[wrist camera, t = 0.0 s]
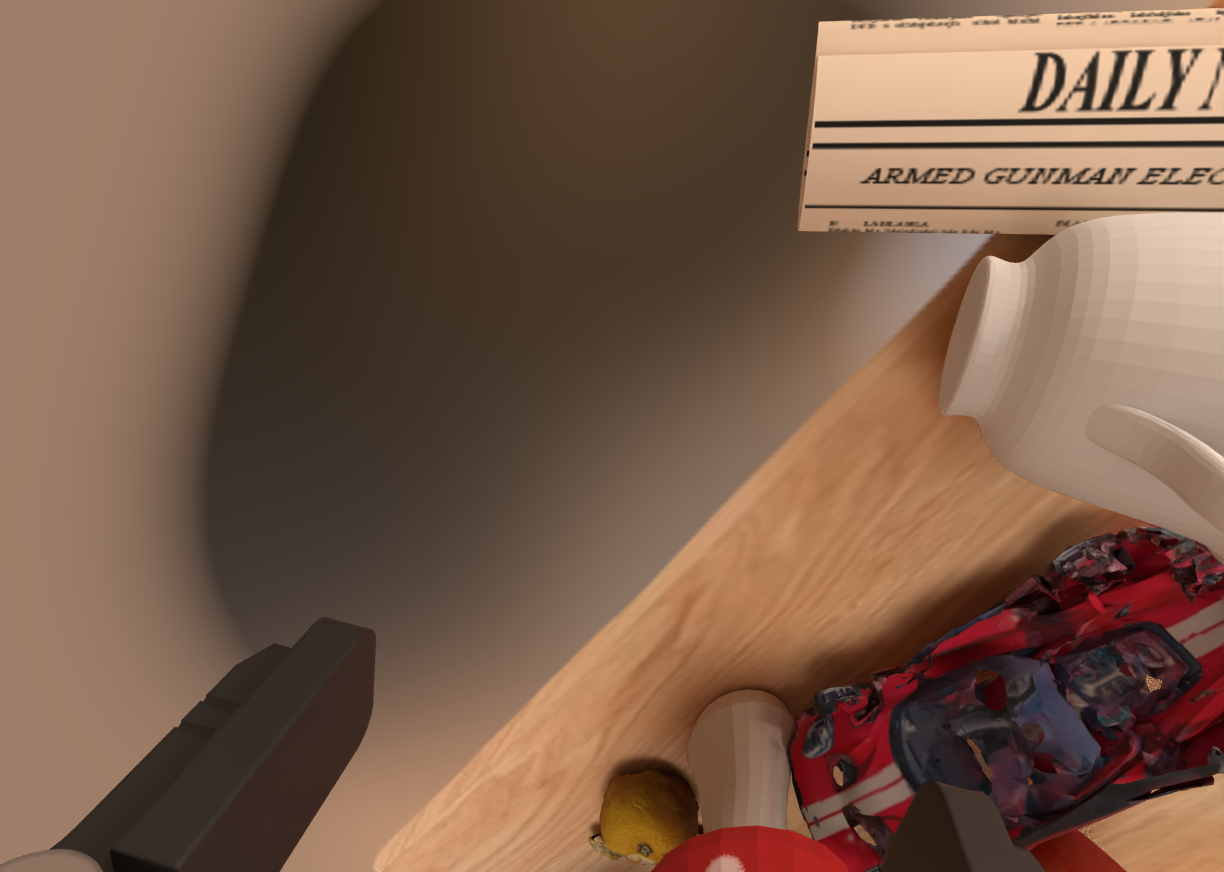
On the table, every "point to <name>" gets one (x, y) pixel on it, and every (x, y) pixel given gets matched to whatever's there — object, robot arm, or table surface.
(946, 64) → the newspaper
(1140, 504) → the teacup
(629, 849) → the fruit
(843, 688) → the toy car
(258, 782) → the robot arm
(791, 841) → the decorative mushroom
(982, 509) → the table surface
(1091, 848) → the apple
